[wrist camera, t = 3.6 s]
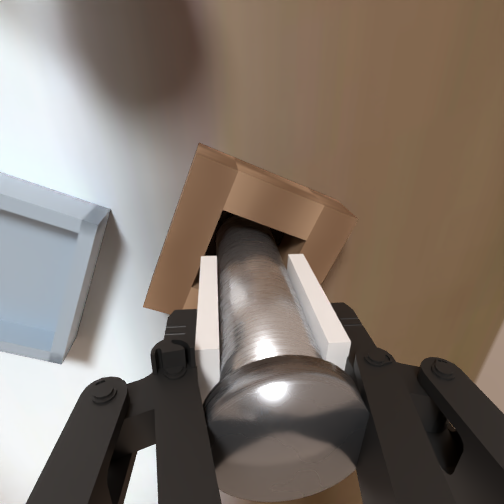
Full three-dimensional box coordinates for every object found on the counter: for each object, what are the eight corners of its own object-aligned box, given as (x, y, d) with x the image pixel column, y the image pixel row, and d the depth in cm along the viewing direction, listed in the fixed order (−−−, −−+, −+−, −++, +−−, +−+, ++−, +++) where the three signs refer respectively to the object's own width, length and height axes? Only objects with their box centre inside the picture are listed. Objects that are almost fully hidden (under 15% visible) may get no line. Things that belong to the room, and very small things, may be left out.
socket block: (152, 275, 22) (143, 306, 19) (199, 142, 19) (196, 153, 16) (276, 312, 24) (286, 345, 21) (336, 199, 21) (358, 219, 18)
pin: (200, 209, 21) (182, 400, 8) (279, 200, 21) (380, 371, 8) (211, 277, 23) (211, 513, 10) (283, 268, 23) (368, 486, 10)
